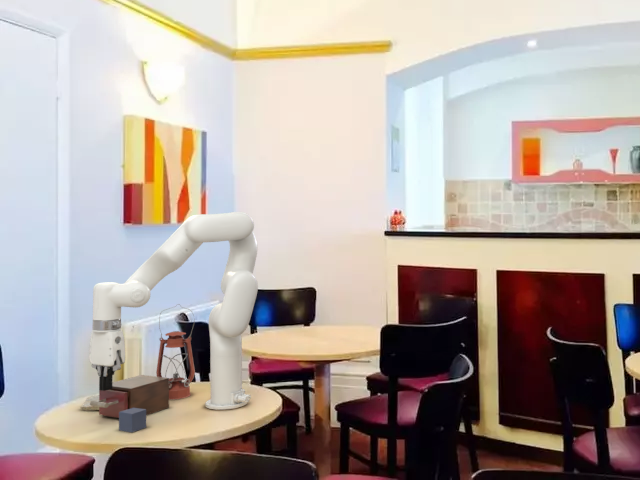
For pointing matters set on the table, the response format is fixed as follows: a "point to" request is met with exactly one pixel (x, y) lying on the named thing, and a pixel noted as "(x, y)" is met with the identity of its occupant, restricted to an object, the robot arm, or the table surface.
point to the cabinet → (145, 392)
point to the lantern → (175, 384)
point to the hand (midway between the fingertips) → (105, 389)
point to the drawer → (112, 402)
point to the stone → (87, 405)
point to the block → (132, 419)
